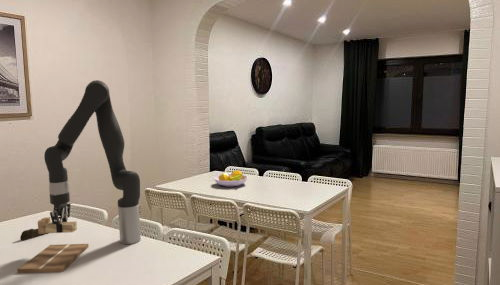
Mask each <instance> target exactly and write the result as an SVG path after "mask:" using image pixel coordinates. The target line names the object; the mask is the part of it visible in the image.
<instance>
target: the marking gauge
mask: <svg viewBox="0 0 500 285" xmlns="http://www.w3.org/2000/svg"><path fill="white" fill-rule="evenodd" d="M37 229H38V233H39V234H41V235H44V234H45V235H46V234H58V233H57V230H56V224H53V223H52V220H51V216H49V217H48V216H47V217H43V218H41V219H39V220H38V221H37ZM77 229H78V225H77V221H67V222H62V230H63V231H62V232H61V234H62V233H65V234H66V233H74V232H75V231H77Z"/></svg>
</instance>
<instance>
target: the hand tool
mask: <svg viewBox="0 0 500 285" xmlns="http://www.w3.org/2000/svg"><path fill="white" fill-rule="evenodd" d="M41 235H42V234H39V233H38V228H30V229H25V230H23V231H22V232H21V234H20V241H28V240H32V239H35V237H38V236H41Z"/></svg>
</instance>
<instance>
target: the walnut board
mask: <svg viewBox="0 0 500 285" xmlns="http://www.w3.org/2000/svg"><path fill="white" fill-rule="evenodd" d="M88 248H89V243H72V244H71V243H69V244H67V243H66V244H49V245H48V246H47V247H45V248H44V249H43V250H42V251H40V252H38V253H37V254H36V255H34V256H33V257H32V258H30V259H29V260H28V261H27V262H25V263H24V264H22V265H21V266H19V267H18V268H17V274H29V273H32V274H33V273H55V272H56V273H58V272H62V273H63V271H65V270H66V269H67V268H68V267H69V266H70V265H71V264H72V263H73V262H74V261H75V260H76V259H77V258H79V256H81V254H82V255H83V253H84V252H85V251H86V250H87V249H88Z"/></svg>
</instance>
